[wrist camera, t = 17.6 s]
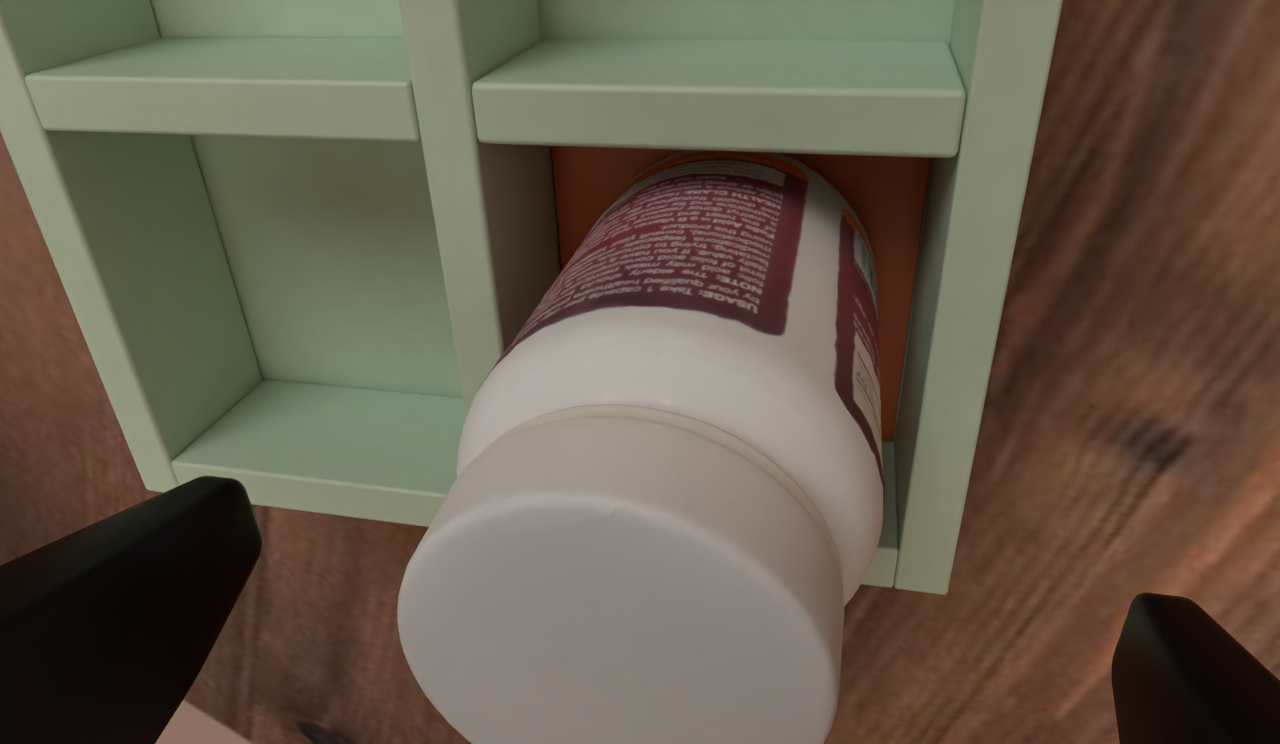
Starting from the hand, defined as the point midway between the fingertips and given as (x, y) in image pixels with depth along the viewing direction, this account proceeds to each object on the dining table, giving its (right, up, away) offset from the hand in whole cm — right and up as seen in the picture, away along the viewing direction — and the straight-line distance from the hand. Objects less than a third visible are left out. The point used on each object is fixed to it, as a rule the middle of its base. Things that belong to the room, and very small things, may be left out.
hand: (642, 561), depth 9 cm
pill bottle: (+2, +4, +6) cm, 7 cm away
